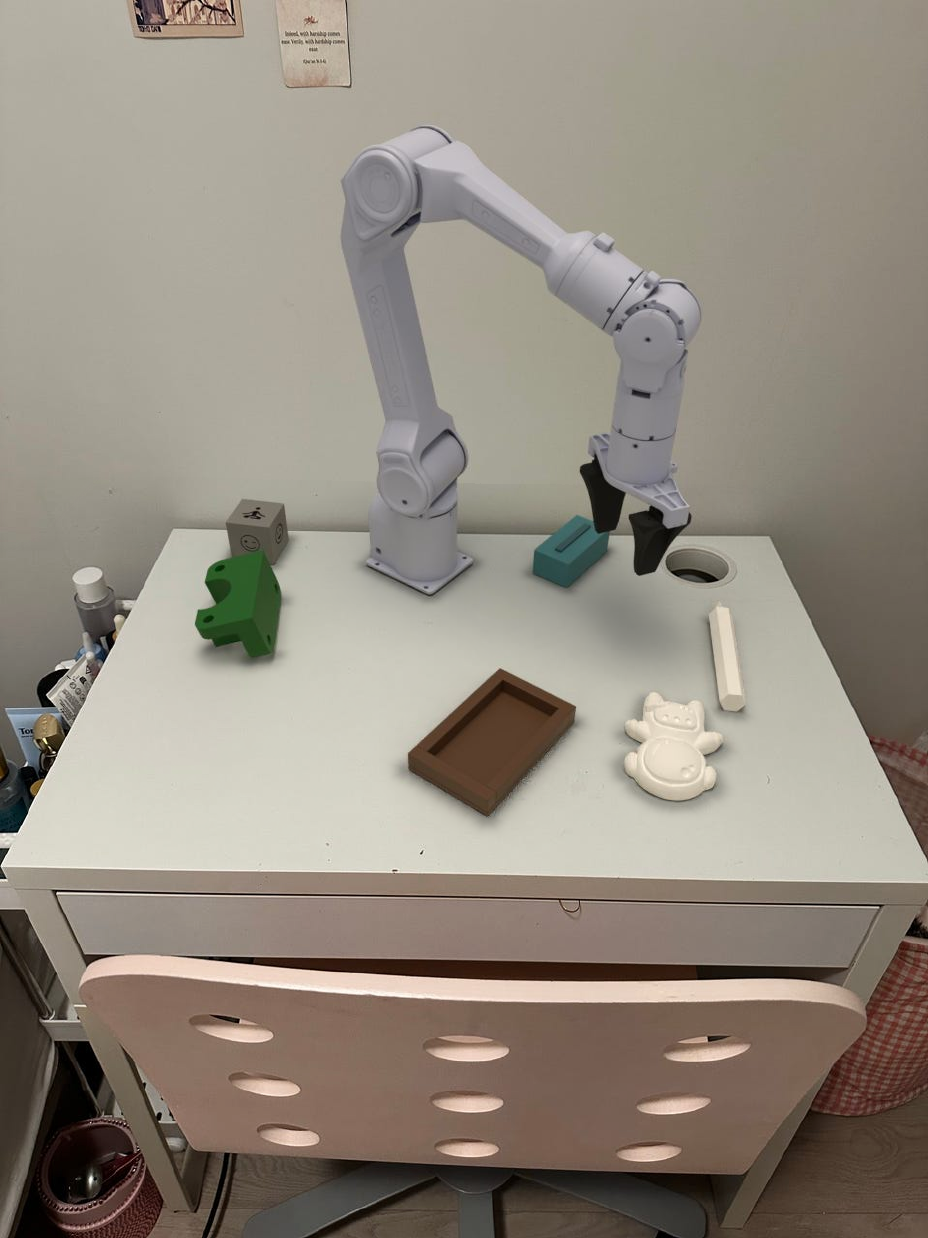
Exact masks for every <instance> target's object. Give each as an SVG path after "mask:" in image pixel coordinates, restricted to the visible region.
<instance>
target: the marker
mask: <svg viewBox="0 0 928 1238" xmlns="http://www.w3.org/2000/svg"><path fill="white" fill-rule="evenodd" d="M708 620H709V627H710V637H711V645H712V651H713V661H714V668H715V674H716V675H715V677H716V683H717V693H718V701H719V703H720V705H721V708H722V709H723V711H727V712H728V711H729V712H739V711H740V710H741V709H742V708H743V707H744V706H746V705H747V701H746V695H745V688H744V681H743V676H742V669H741V662H740V657H739V656H740V655H739V651H738V649H739V648H738V644H737V637H736V630H735V624H734V618H733V615H732V613H731V610H730V608H729V607H725V606H724V604H722V603H721V601H720V600H717V602H716V605H715V607H714V608H713V610H712V611H710V612H709V613H708Z"/></svg>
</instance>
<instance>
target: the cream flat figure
mask: <svg viewBox="0 0 928 1238" xmlns="http://www.w3.org/2000/svg"><path fill="white" fill-rule="evenodd" d="M705 715H706V714H705V709H704V706H703V704H702V702H701V701H700V700H697V699H693V700H690V701H689V702H688V703H687V704H683V703H679V702H673V701H666V700H665V699H664V698H663V697H662V696H661V694H659V693H658V692H657V691H652V692H650V693H648V694H647V696H646V698H645V699H644V703H643V708H642V716H641V717H642V718H641V720H639V721H638V720H637V719H635V718H632V719H628V720H626V722H625V723H624V728H625V732H626V734H627V736H629V738H632V739H633V740H635V741H637V742H639V743H641V744H639V746H638V747H637V748H636V752H634V751H631V752H628V753H627V754H626V756H625V757H624V760H623V768H624V771H625V773H626V774H627V775H628V776H629V777H631V778H633V779H634V780H635V782H636V784H638V785H639V786H640V787H641V788H642V789H643V790H645V791H646V792H647V793H649V794H651V795H653V796H655V797H658V798H660V799H663V800H668V801H687V800H691V799H694V798H695V797H698V796H699V795H701V794H702V793H703V791H708V790H711V789H712V788H713V787H714V786H715V784H716V782H717V772H716V770H715V768H714V767H713V766H712V765H708V766H707V759H706V757H705V755H708V754H712V753H714V752H715V751H717V750H718V749H719V747H720V746H721V745H722V744H723V743H724V736H723V735H722V734H721V733H719V732H716V731H706V730H705V719H706V718H705Z"/></svg>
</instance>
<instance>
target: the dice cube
mask: <svg viewBox="0 0 928 1238" xmlns="http://www.w3.org/2000/svg"><path fill="white" fill-rule="evenodd" d="M285 507H286V506H285V503H282V502H274V501H266V500H265V501H264V500H257V499H256V500H255V499H250V498H249V499H248V498H241V500H240V501H239V503H238V504H237V506H236V507H235V508H234V510H233V511H232V513H231V514H230V515H229V517H228V518H227V520H226V521H225V526H226V533H227V538H228V539H227V540H228V544H229V548H230V555H231V558H233V557H237V556H241V555H245V554H249V553H253V552H258V551H262V550H264V552H265V555H266V557H267V559H268V561H269V563H270V565H275V564H276V562H277V561H278V559H279V557H280V555H281V554H282V552H283V550H284V549H285V547H286V545H287V544H288V542H289V539H290V538H289V531H288V524H287V523H288V522H287V516H286V508H285Z"/></svg>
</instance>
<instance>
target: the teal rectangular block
mask: <svg viewBox="0 0 928 1238" xmlns="http://www.w3.org/2000/svg"><path fill="white" fill-rule="evenodd" d="M610 532H611V531H609V532H604V533H600V534H598V533H597V532H596V531H595V527H594V522H593V520H591V519H588V518H587V517H583V516H581V515H578V514H576V515H575V516H573V518H571V519H570V520H569V521H567V522H566V523H565V524H564V525H563V526H561V527H560V528H559V529H558V530H556V531H555V532H554V533H553V534H552V535H551V536H549V537H548V538H547V539H546V540H544V541H543V542H542V543H541V544H540V545H538V546H537V547H536V548H535V549H534V550H533V562H532V574H534V575H536V576H538V577H540V578H543V579H546V580H548V581H550V582H552V583H555V584H557V585H559V586H562V587H564V588H568V587H569V586H570V585H571V584H572V583H573V582H575V580H577V579H578V578H579V577H580V576H581V575H582V574H583V573H584V572H586V571H587V570H588V569H589V568H590V567H591V566H592V565H594V564H595V562H596V561H598V560H599V559H600V558H601V557H602V556H603V555H605V554H606V552H608V547H609V541H610V535H611V534H610Z"/></svg>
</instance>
